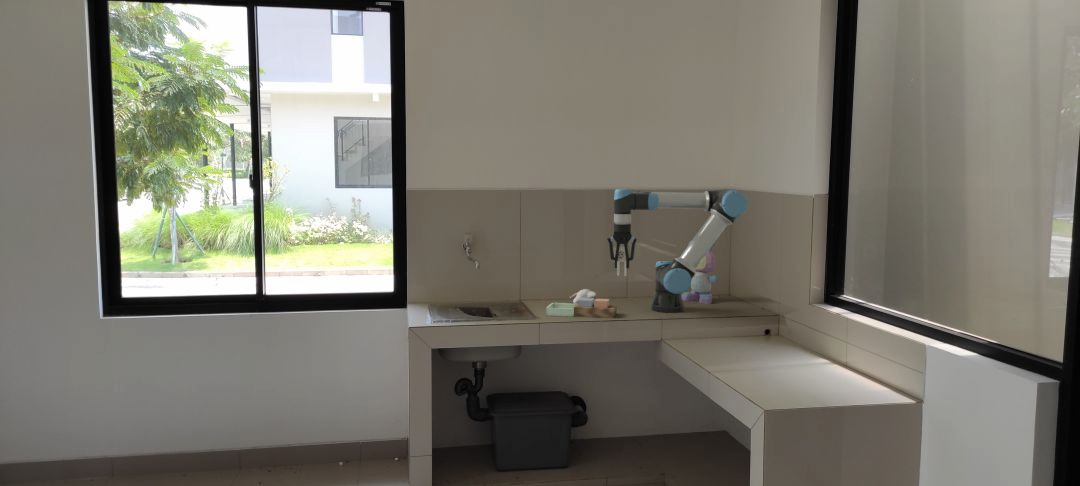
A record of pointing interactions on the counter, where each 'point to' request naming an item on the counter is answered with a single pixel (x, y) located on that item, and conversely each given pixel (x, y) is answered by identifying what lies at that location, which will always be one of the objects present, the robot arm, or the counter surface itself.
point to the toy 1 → (583, 295)
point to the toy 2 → (702, 280)
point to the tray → (560, 309)
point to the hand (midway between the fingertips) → (621, 275)
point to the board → (595, 311)
